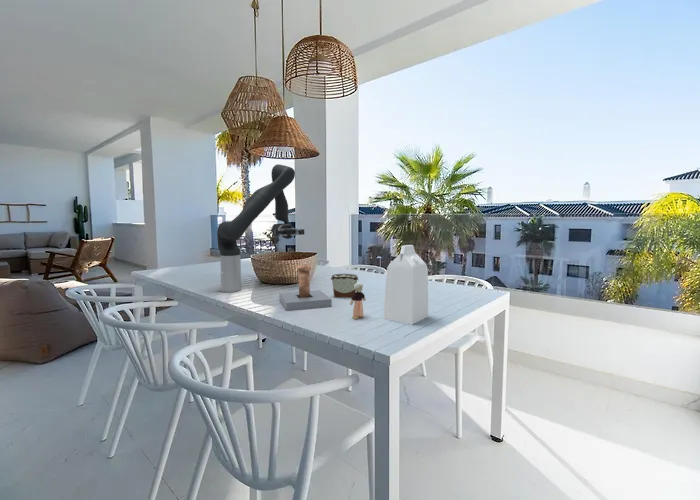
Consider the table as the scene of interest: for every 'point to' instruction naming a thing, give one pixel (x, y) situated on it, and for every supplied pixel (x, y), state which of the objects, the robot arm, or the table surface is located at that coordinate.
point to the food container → (344, 285)
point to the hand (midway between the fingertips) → (292, 232)
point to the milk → (406, 288)
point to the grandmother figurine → (358, 301)
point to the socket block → (304, 300)
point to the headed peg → (304, 281)
